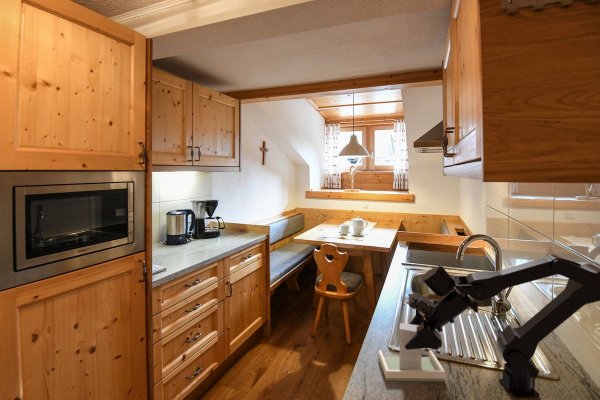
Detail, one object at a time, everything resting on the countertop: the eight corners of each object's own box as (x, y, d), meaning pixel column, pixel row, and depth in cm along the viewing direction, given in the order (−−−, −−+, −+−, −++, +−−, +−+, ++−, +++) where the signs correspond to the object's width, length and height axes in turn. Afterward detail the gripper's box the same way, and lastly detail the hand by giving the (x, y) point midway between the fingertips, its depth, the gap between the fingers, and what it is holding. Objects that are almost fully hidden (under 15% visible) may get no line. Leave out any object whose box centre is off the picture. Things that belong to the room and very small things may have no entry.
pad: (431, 359, 97) (431, 350, 96) (444, 381, 87) (445, 371, 86) (378, 358, 97) (378, 350, 97) (386, 380, 87) (386, 371, 87)
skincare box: (420, 364, 93) (421, 325, 92) (421, 373, 89) (422, 332, 88) (399, 360, 95) (399, 322, 94) (398, 368, 91) (399, 329, 90)
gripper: (425, 274, 97) (387, 304, 102) (428, 298, 80) (383, 333, 84) (452, 302, 95) (413, 331, 100) (462, 333, 78) (414, 367, 82)
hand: (405, 339), depth 92 cm, fingers open, 9 cm apart
